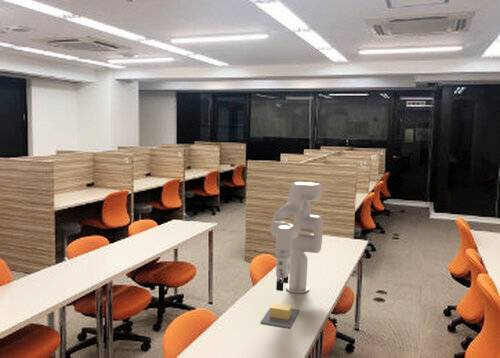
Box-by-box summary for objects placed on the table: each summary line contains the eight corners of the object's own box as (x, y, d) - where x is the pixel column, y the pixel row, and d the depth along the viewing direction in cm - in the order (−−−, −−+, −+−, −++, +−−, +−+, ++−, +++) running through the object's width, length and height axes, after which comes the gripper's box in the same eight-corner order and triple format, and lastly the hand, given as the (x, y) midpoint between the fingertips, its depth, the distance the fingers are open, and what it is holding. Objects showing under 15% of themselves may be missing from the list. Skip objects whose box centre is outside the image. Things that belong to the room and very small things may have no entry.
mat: (272, 306, 228) (272, 305, 228) (299, 310, 224) (299, 309, 224) (260, 323, 209) (260, 321, 209) (290, 328, 205) (290, 327, 205)
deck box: (291, 314, 218) (291, 305, 217) (288, 319, 212) (288, 310, 212) (273, 311, 221) (273, 302, 220) (269, 316, 215) (270, 307, 214)
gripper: (286, 258, 203) (285, 294, 206) (295, 247, 219) (294, 281, 222) (270, 256, 205) (269, 292, 208) (280, 245, 221) (279, 278, 224)
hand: (282, 286), depth 215 cm, fingers open, 9 cm apart
